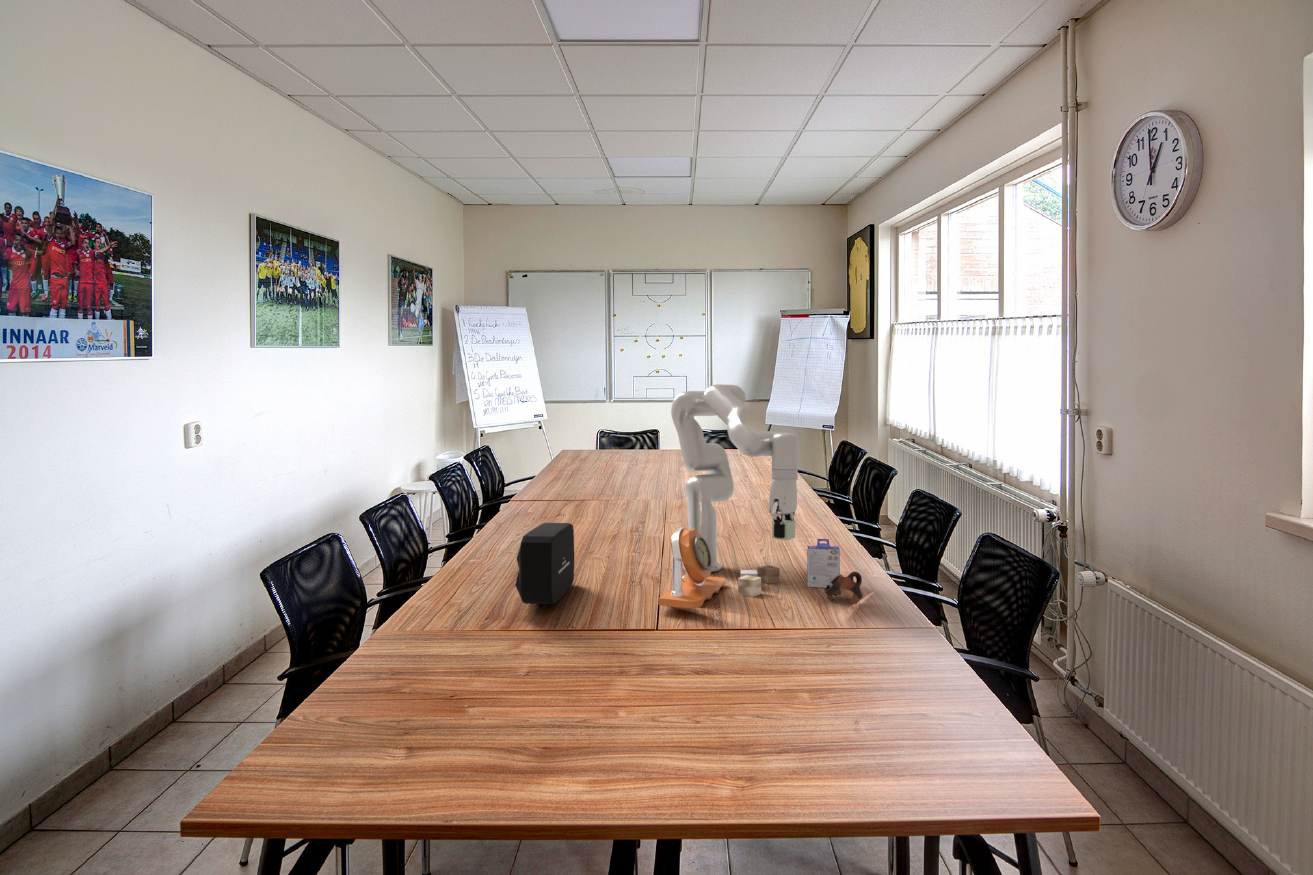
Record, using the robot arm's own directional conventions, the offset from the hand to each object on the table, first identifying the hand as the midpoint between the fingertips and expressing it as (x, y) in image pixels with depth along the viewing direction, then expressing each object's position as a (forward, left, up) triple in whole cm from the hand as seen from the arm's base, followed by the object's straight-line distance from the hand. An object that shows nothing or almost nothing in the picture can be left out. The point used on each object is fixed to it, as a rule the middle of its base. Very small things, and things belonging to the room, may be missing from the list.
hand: (783, 535), depth 209 cm
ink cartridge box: (+5, +17, -18) cm, 25 cm away
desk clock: (-21, -16, -18) cm, 32 cm away
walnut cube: (-11, +11, -18) cm, 23 cm away
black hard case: (-58, -41, -18) cm, 73 cm away
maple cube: (-9, -5, -18) cm, 20 cm away
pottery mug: (+20, +6, -18) cm, 27 cm away
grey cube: (-13, +2, -18) cm, 22 cm away
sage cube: (0, 0, -1) cm, 1 cm away
